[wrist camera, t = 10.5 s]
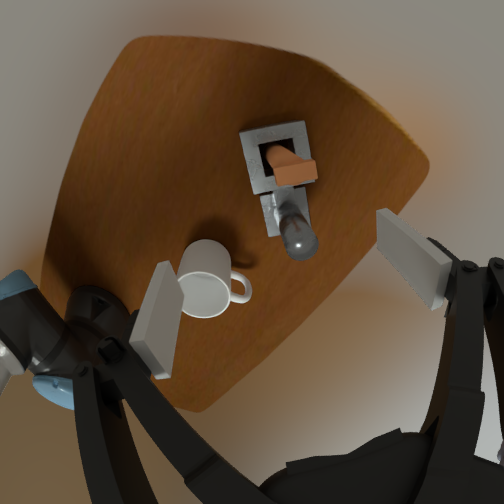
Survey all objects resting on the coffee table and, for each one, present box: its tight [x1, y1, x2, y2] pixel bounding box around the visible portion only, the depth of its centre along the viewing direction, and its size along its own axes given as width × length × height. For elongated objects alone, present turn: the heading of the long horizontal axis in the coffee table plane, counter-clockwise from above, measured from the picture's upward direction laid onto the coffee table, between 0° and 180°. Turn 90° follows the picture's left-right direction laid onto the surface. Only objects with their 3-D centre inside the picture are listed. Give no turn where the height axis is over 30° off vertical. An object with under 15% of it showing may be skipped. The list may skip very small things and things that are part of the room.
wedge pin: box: [263, 143, 318, 187], centre depth 32 cm, size 4×3×15 cm
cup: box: [176, 239, 252, 318], centre depth 42 cm, size 8×12×10 cm
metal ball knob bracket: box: [239, 120, 319, 261], centre depth 35 cm, size 9×17×12 cm, turn 13°
